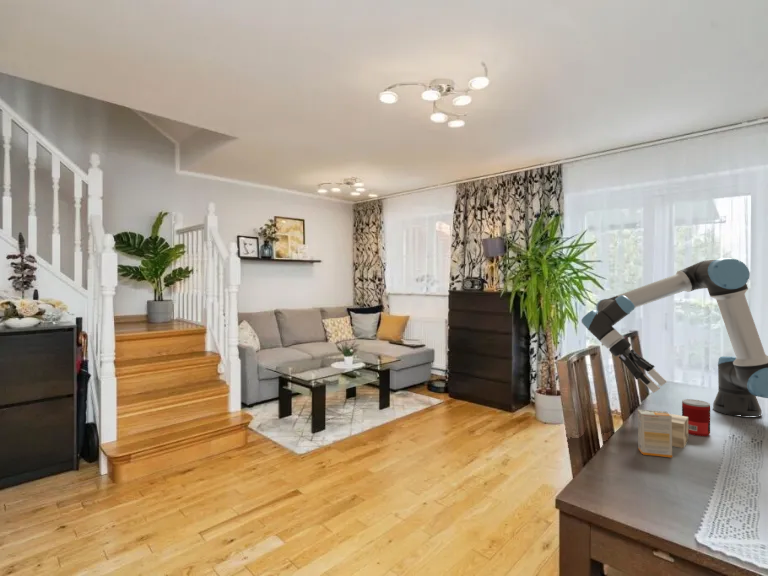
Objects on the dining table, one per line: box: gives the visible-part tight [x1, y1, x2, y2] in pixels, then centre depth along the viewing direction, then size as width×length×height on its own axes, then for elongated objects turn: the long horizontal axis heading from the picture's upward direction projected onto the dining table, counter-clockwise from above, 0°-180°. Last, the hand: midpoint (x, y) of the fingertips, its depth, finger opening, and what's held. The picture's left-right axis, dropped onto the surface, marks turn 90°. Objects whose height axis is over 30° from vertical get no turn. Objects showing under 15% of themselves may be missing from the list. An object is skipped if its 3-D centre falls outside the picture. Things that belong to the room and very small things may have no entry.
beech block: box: [669, 413, 689, 449], centre depth 139 cm, size 10×10×8 cm
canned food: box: [681, 398, 711, 437], centre depth 145 cm, size 8×8×11 cm
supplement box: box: [637, 409, 673, 459], centre depth 128 cm, size 8×5×13 cm, turn 71°
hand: (660, 387), depth 152 cm, fingers open, 13 cm apart
